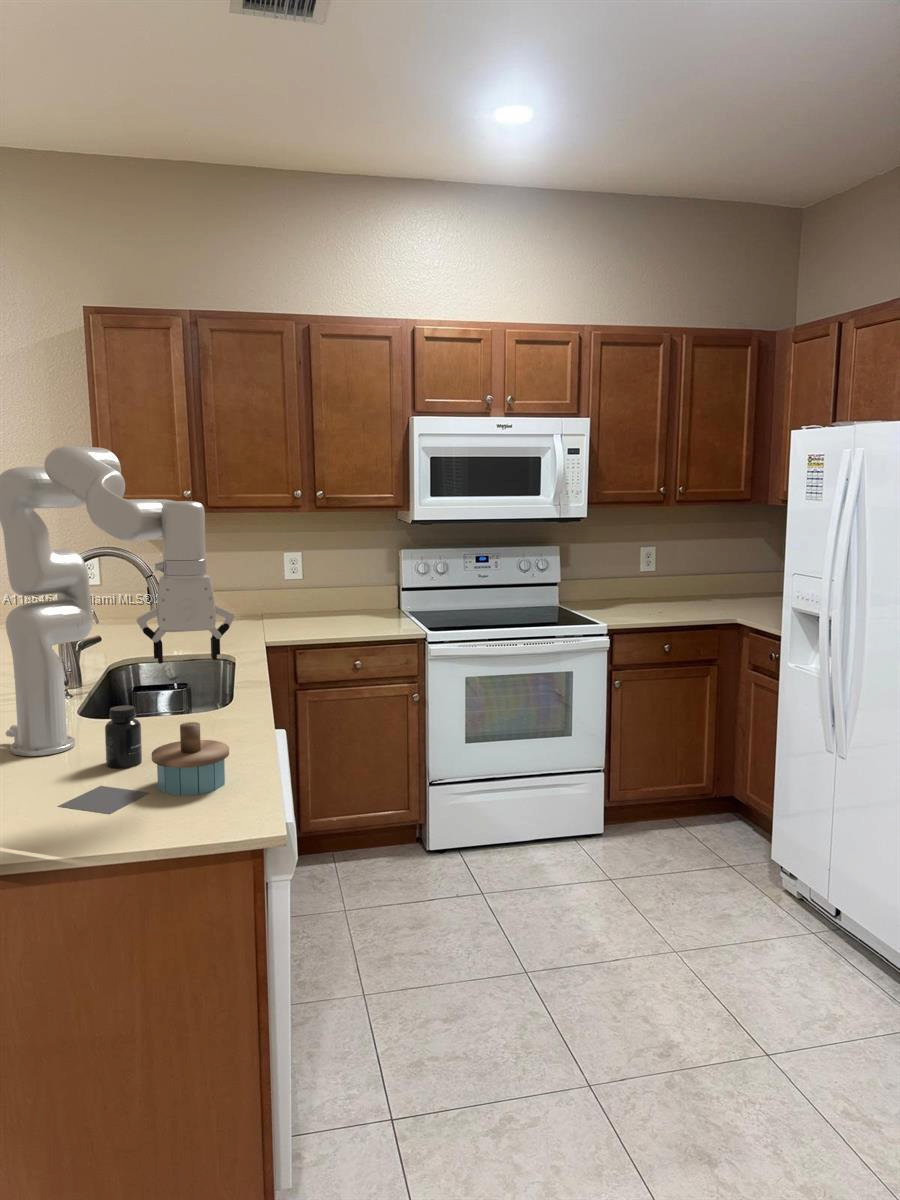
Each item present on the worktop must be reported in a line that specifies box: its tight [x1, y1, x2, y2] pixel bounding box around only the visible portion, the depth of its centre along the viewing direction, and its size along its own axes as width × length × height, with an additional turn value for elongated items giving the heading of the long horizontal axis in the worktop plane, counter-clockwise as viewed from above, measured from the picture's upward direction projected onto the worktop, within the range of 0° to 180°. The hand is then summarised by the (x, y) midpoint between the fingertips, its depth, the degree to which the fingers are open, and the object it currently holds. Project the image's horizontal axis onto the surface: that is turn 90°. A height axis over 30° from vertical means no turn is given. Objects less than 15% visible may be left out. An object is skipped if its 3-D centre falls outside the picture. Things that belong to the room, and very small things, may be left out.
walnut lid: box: [151, 721, 230, 768], centre depth 161 cm, size 14×14×6 cm
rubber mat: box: [57, 785, 151, 815], centre depth 154 cm, size 11×11×1 cm
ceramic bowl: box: [156, 758, 226, 797], centre depth 162 cm, size 12×12×6 cm
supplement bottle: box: [104, 705, 143, 770], centre depth 173 cm, size 7×7×12 cm
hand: (187, 660), depth 160 cm, fingers open, 9 cm apart
